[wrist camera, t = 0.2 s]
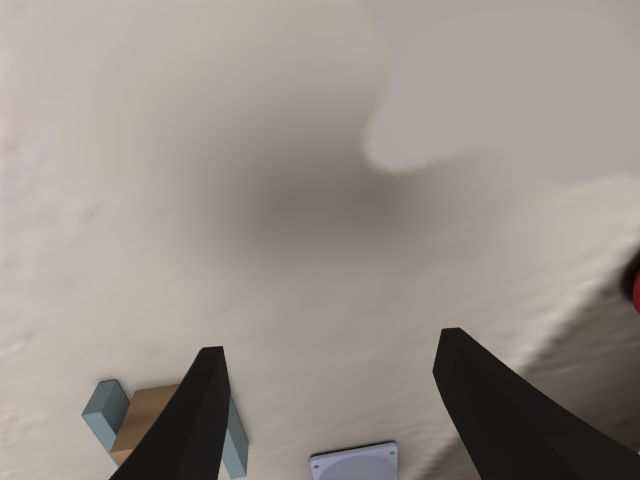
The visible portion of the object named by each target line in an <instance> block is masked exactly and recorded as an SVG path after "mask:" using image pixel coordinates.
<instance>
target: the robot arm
mask: <svg viewBox="0 0 640 480" xmlns="http://www.w3.org/2000/svg"><path fill="white" fill-rule="evenodd" d="M432 372H433V375H434V378H435V381H436V384H437V387H438V390H439V392H440V395H441V398H442V400H443V403H444V405H445V407H446V409H447V411H448V413H449V415H450V417H451V419H452V421H453V423H454V425H455V427H456V429H457V431H458V433H459V435H460V437H461V439H462V441H463V443H464V445H465V447H466V449H467V451H468V453H469V455H470V457H471V459H472V461H473V463H474V465H475V467H476V469H477V471H478V473H479V475H480V477H481V479H482V480H640V455H639V454H638V453H636V452H634V451H632V450H631V449H629V448H627V447H625V446H624V445H622V444H620V443H618V442H617V441H615V440H613V439H612V438H610V437H608V436H607V435H605V434H603V433H602V432H600V431H598V430H597V429H595V428H593V427H592V426H590V425H589V424H587V423H586V422H584V421H583V420H581V419H580V418H578V417H576V416H575V415H573V414H572V413H570V412H569V411H567V410H566V409H564V408H563V407H561V406H560V405H558V404H557V403H556V402H554V401H553V400H551V399H550V398H549V397H547V396H546V395H544V394H543V393H542V392H540V391H539V390H538V389H536V388H535V387H533V386H532V385H531V384H529V383H528V382H527V381H525V380H524V379H523V378H522V377H520V376H519V375H518V374H516V373H515V372H514V371H513V370H511V369H510V368H509V367H507V366H506V365H505V364H504V363H502V362H501V361H500V360H499V359H498V358H496V357H495V356H494V355H493V354H491V353H490V352H489V351H488V350H487V349H485V348H484V347H483V346H482V345H480V344H479V343H478V342H477V341H476V340H474V339H473V338H472V337H471V336H470V335H468V334H467V333H466V332H465V331H463V330H462V329H461V328H459V327H458V328H446V329H442V331H441V335H440V340H439V344H438V349H437V353H436V358H435V362H434V367H433V371H432ZM230 392H231V389H230V384H229V378H228V372H227V367H226V361H225V355H224V350H223V346H217V347H204V348H202V349H201V350H200V351H199V353H198V355H197V357H196V359H195V360H194V362H193V364H192V365H191V367H190V369H189V370H188V372H187V374H186V375H185V377H184V379H183V380H182V382H181V383H180V385H179V387H178V388H177V390H176V391H175V393H174V394H173V396H172V397H171V399H170V400H169V402H168V403H167V405H166V406H165V408H164V409H163V411H162V412H161V413H160V415H159V416H158V418H157V419H156V420H155V422H154V423H153V424H152V426H151V427H150V428H149V430H148V431H147V433H146V434H145V435H144V437H143V438H142V439H141V441H140V442H139V443H138V445H137V446H136V447H135V448H134V450H133V451H132V452H131V454H130V455H129V456H128V457H127V458H126V460H125V461H124V462H123V463H122V465H121V466H120V467H119V468H118V469H117V471H116V472H115V473H114V474H113V475H112V477H111V478H110V479H109V480H217V479H218V474H219V468H220V463H221V458H222V453H223V447H224V442H225V437H226V431H227V426H228V417H229V405H230ZM310 467H311V471H312V476H313V480H398V448H397V445H396V444H395V443H386V444H381V445H375V446H370V447H364V448H358V449H353V450H347V451H342V452H336V453H331V454H325V455H320V456H314V457H312V458H311V459H310Z"/></svg>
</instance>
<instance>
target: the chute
mask: <svg viewBox="0 0 640 480" xmlns="http://www.w3.org/2000/svg"><path fill="white" fill-rule="evenodd" d="M129 405H130V402H129V400H128V399H127V397H126V395H125V393H124V392H123V390H122V388H121V387H120V385H119V383H118V381H117V380H112V381H106V382H100V383H99V384H98V385H97V387H96V389H95V391H94V393H93V395H92V397H91V398H90V400H89V402H88V404H87V406H86V408H85V409H84V411H83V413H82V415H81V416H82V417H83V419H84V420H85V421H86V423H87V424H88V426H89V427H90V428H91V430H92V431H93V433H94V434H95V435H96V437H97V438H98V440H99V441H100V443H101V444H102V445H103V447H104V448H105V450H106V451H107V452H108V454H109V455H110V457H111V458H112V459H113V457H112V456H111V454H110V451H111V448H112V446H113V443H114V441H115V439H116V436H117V434H118V432H119V429H120V427H121V424H122V422H123V420H124V417H125V415H126V413H127V410H128V408H129ZM248 446H249V444H248V442H247V439H246V436H245V433H244V430H243V428H242V425H241V422H240V419H239V416H238V414H237V411H236V408H235V405H234V402H233V400H232V397H231V394H230V405H229V417H228V426H227V431H226V437H225V442H224V447H223V453H222V459H223V462H224V464H225V466H226V468H227V471H228V473H229V475H230V478H231V479H234V478H240V477H245V476H246V474H247V460H248ZM113 461H114V462H115V460H114V459H113ZM115 464H116V465H117V466H118V464H117V463H116V462H115ZM118 468H119V466H118Z"/></svg>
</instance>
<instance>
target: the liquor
mask: <svg viewBox="0 0 640 480" xmlns="http://www.w3.org/2000/svg"><path fill="white" fill-rule="evenodd" d="M633 304H634V307H635V309H636V311H637V312H639V313H640V267H639V268H638V270H637V271H636V273H635V276H634V282H633Z"/></svg>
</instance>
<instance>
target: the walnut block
mask: <svg viewBox="0 0 640 480" xmlns="http://www.w3.org/2000/svg"><path fill="white" fill-rule="evenodd" d="M179 385H180V384H177V385H171V386H165V387H159V388H153V389H147V390H141V391H135V394H134V396H133V398H132V401H131V403H130V405H129V408H128V410H127V413H126V415H125V417H124V420H123V422H122V424H121V427H120V429H119V432H118V434H117V436H116V439H115V441H114V443H113V446H112V448H111V451H110V454H111V456H112V457H113V459H114V460H115V462H116V463H117V464H118V466H119V467H120V466H121V465H122V463H123V462H124V461H125V460H126V458H127V457H128V456H129V455H130V454H131V452H132V451H133V450H134V448H135V447H136V446H137V445H138V443H139V442H140V441H141V439H142V438H143V437H144V435H145V434H146V433H147V431H148V430H149V428H150V427H151V426H152V424H153V423H154V422H155V420H156V419H157V418H158V416H159V415H160V413H161V412H162V411H163V409H164V408H165V406H166V405H167V403H168V402H169V400H170V399H171V397H172V396H173V394H174V393H175V391H176V390H177V388H178V387H179Z"/></svg>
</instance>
